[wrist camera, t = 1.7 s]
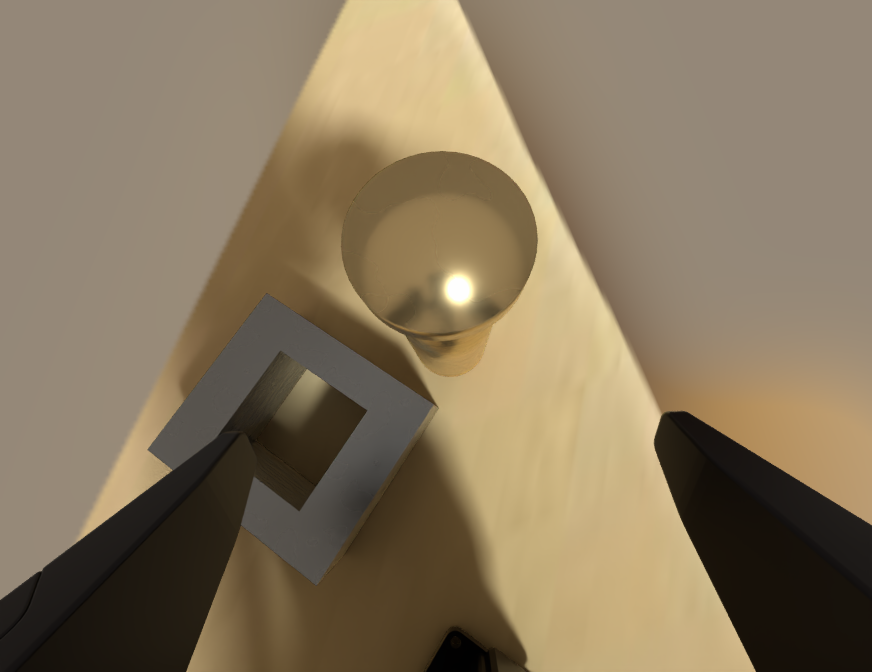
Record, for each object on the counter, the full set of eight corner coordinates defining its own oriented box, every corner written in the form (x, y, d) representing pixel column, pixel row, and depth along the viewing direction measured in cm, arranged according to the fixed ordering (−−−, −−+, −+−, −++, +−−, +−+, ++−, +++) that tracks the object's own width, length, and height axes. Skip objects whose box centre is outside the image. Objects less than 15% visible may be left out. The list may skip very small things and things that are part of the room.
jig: (343, 555, 21) (316, 585, 17) (201, 445, 22) (147, 449, 18) (438, 408, 22) (434, 404, 18) (298, 314, 24) (266, 293, 20)
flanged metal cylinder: (463, 402, 22) (468, 372, 9) (389, 354, 23) (302, 266, 10) (510, 329, 23) (574, 207, 10) (437, 285, 24) (411, 121, 11)
